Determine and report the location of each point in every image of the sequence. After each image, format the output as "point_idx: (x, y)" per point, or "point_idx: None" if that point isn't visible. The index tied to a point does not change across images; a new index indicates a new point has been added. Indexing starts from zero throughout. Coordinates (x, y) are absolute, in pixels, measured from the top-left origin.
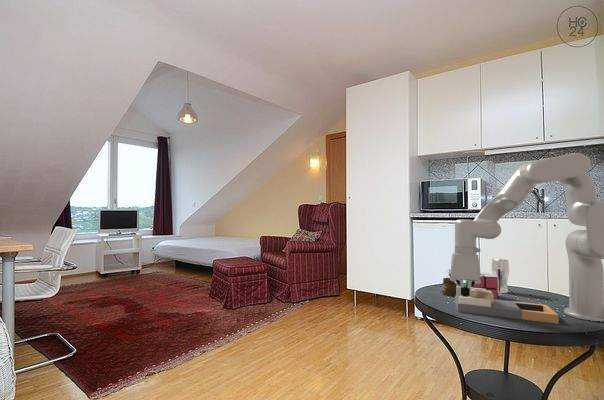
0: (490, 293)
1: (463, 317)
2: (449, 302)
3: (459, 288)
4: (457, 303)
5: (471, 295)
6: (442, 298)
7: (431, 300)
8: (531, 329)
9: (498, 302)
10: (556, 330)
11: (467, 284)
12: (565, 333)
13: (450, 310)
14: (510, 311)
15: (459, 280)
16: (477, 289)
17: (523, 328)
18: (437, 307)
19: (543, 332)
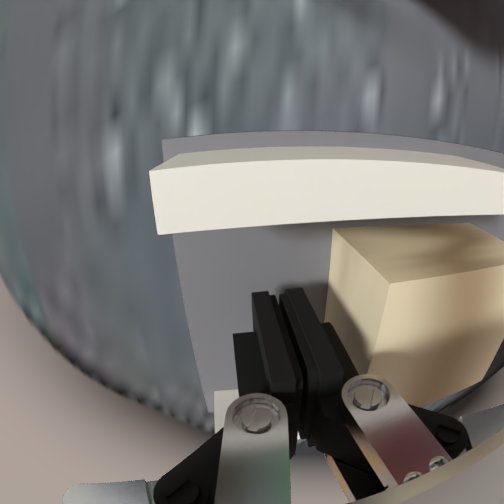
0: (485, 359)
1: None
2: (126, 153)
3: (211, 222)
4: (206, 403)
5: (345, 336)
6: (71, 52)
7: (7, 181)
8: (444, 398)
9: (495, 234)
10: (497, 361)
11: (339, 471)
12: (499, 369)
13: (165, 365)
14: None
15: (223, 499)
16: (468, 211)
17: (427, 405)
18: (84, 339)
19: (458, 399)
